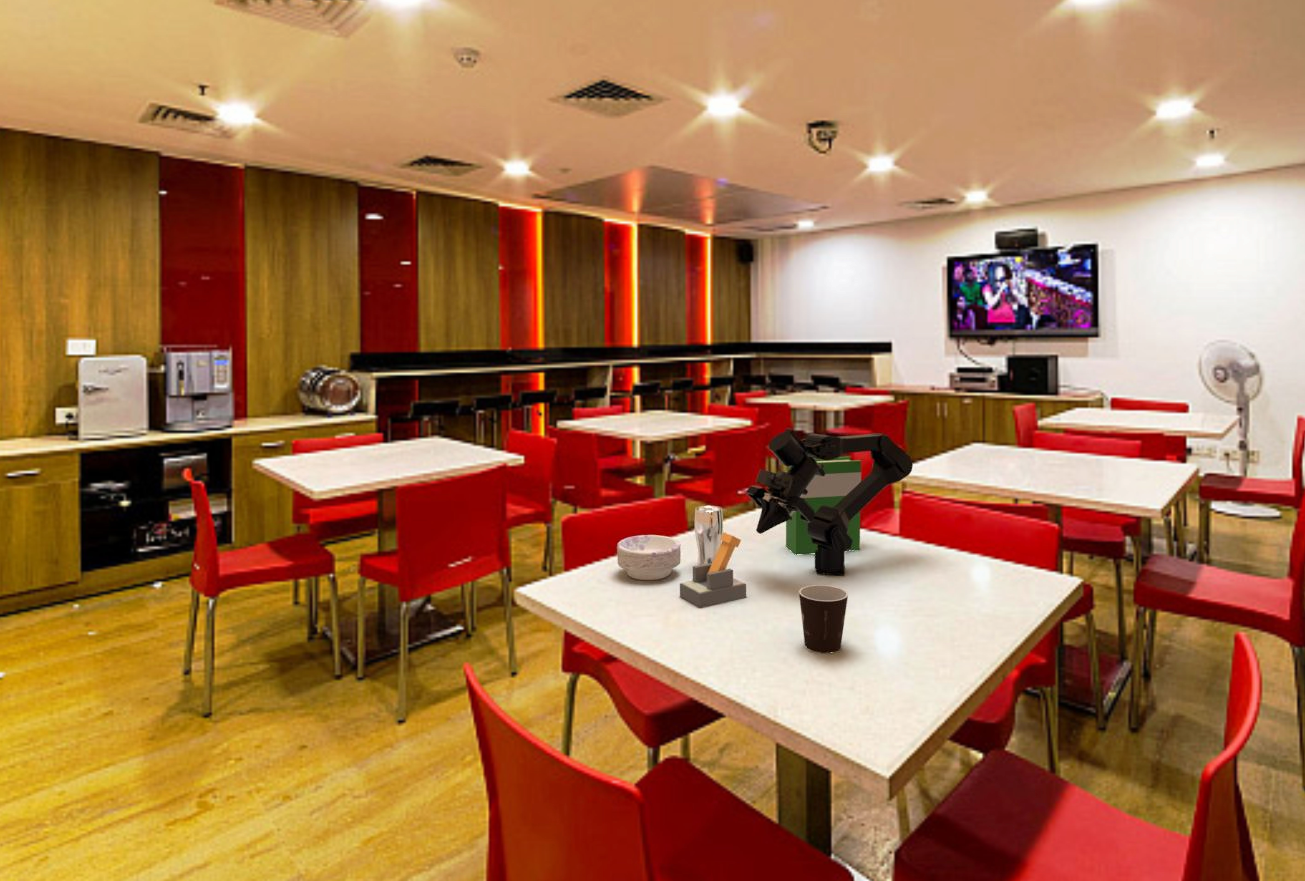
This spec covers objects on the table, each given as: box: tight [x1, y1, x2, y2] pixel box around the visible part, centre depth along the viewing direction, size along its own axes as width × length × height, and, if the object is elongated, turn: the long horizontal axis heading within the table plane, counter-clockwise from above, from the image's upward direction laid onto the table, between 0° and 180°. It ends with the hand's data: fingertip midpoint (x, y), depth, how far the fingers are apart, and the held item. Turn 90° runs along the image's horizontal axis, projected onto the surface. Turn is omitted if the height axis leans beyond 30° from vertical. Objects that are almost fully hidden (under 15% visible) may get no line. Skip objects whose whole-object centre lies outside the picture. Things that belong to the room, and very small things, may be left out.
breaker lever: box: [708, 531, 742, 573], centre depth 159 cm, size 3×4×11 cm
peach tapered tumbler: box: [694, 505, 724, 566], centre depth 178 cm, size 7×7×15 cm
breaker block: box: [679, 563, 747, 609], centre depth 158 cm, size 12×8×6 cm, turn 119°
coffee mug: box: [798, 584, 849, 654], centre depth 130 cm, size 12×9×10 cm
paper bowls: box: [616, 534, 682, 581], centre depth 175 cm, size 15×15×8 cm
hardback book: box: [785, 456, 862, 556], centre depth 192 cm, size 18×7×24 cm, turn 99°
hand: (758, 532), depth 163 cm, fingers closed
